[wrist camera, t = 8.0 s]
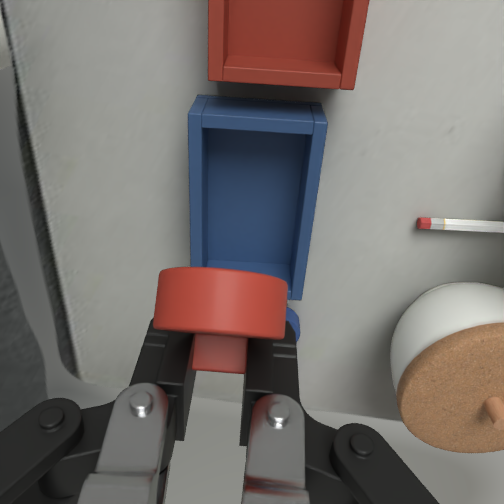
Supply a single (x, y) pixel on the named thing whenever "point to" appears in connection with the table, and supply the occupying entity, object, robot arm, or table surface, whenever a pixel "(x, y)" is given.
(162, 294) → the red spoon
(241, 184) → the blue bin
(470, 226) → the pencil
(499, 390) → the trinket box
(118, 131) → the table surface
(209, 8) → the red bin
